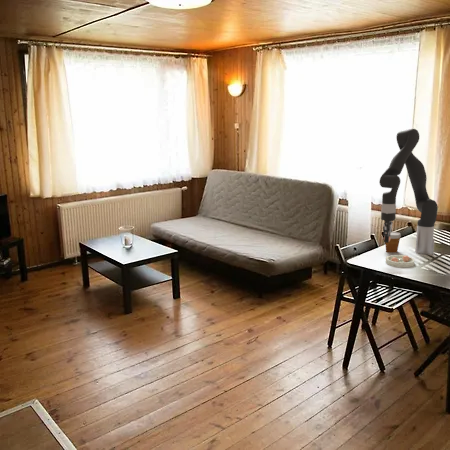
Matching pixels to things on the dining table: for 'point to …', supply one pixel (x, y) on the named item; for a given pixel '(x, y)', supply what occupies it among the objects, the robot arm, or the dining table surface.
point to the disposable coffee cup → (393, 242)
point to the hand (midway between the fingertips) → (387, 241)
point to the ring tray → (399, 261)
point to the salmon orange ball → (405, 258)
